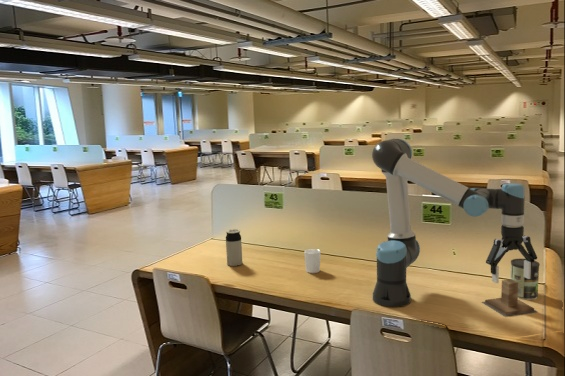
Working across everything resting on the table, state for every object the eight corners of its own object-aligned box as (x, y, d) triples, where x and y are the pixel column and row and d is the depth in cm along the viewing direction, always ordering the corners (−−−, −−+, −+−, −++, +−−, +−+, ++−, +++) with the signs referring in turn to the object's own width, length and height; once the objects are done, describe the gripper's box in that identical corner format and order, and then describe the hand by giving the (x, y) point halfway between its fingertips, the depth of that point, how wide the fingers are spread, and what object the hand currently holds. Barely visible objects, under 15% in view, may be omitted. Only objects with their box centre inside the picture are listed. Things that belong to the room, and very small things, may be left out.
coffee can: (538, 293, 190) (540, 260, 188) (537, 302, 181) (538, 267, 179) (510, 289, 195) (512, 257, 193) (507, 297, 187) (509, 264, 185)
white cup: (302, 272, 225) (302, 253, 224) (307, 267, 232) (307, 248, 231) (318, 274, 222) (317, 254, 221) (323, 269, 229) (322, 249, 228)
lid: (505, 315, 170) (506, 288, 169) (485, 302, 182) (486, 277, 180) (534, 311, 172) (535, 285, 171) (512, 299, 184) (513, 274, 183)
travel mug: (245, 262, 244) (243, 229, 241) (236, 267, 237) (234, 233, 234) (233, 260, 248) (231, 228, 245) (224, 265, 241) (222, 231, 239)
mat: (505, 317, 169) (505, 316, 169) (481, 303, 183) (481, 302, 183) (538, 313, 172) (538, 312, 172) (512, 298, 185) (512, 298, 185)
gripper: (489, 230, 166) (488, 287, 169) (549, 224, 171) (547, 279, 174) (476, 226, 173) (475, 280, 176) (534, 220, 178) (532, 273, 181)
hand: (511, 280), depth 175 cm, fingers open, 13 cm apart
